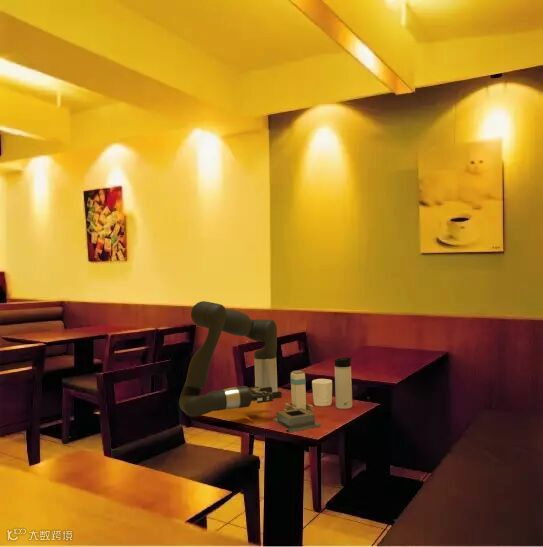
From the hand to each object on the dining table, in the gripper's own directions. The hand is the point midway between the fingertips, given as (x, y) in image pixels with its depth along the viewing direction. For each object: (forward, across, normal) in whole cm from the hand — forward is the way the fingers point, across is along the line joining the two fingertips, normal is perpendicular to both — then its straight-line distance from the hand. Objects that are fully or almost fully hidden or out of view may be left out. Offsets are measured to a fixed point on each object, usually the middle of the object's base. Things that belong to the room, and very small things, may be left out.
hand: (276, 392), depth 206 cm
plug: (+9, 0, +8) cm, 12 cm away
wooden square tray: (+9, 0, +9) cm, 13 cm away
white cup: (+21, +3, +9) cm, 23 cm away
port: (+1, -13, +9) cm, 16 cm away
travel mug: (+26, -5, +9) cm, 28 cm away
